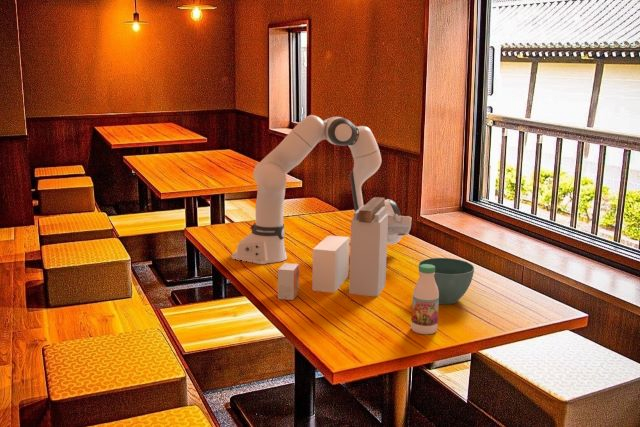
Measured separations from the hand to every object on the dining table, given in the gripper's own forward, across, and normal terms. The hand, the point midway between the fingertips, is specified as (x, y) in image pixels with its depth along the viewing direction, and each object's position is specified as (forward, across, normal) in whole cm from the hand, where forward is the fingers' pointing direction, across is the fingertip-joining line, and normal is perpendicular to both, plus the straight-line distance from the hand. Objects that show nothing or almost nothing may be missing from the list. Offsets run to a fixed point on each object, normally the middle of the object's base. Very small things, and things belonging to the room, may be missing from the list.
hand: (382, 215), depth 249 cm
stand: (+9, 0, +30) cm, 32 cm away
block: (+7, -14, +29) cm, 33 cm away
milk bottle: (+36, +24, +46) cm, 63 cm away
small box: (+23, -24, +38) cm, 51 cm away
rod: (+19, 0, +6) cm, 20 cm away
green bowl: (+12, +27, +32) cm, 43 cm away
